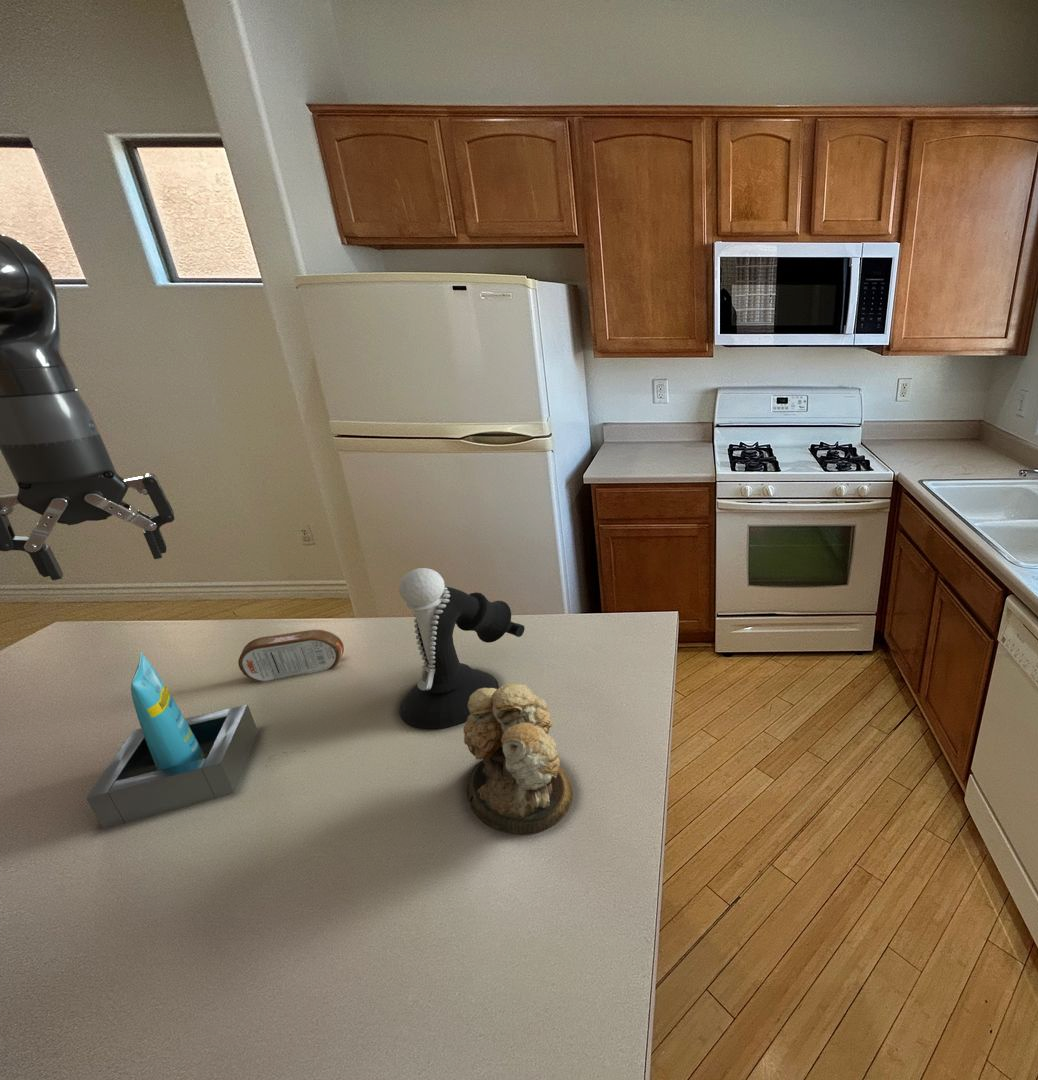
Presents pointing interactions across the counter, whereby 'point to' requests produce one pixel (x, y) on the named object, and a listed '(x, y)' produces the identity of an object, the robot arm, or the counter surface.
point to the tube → (162, 720)
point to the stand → (175, 770)
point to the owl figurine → (514, 761)
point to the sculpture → (448, 648)
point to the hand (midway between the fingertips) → (110, 567)
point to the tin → (290, 654)
